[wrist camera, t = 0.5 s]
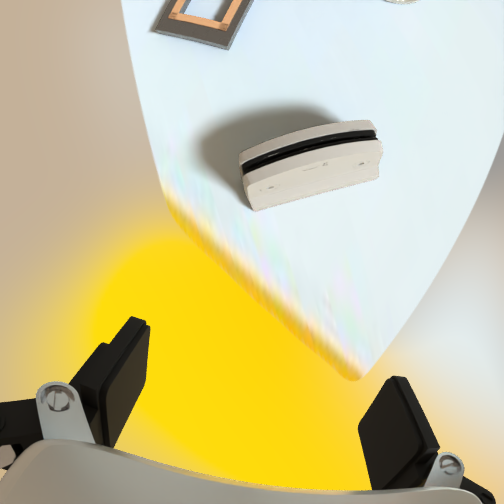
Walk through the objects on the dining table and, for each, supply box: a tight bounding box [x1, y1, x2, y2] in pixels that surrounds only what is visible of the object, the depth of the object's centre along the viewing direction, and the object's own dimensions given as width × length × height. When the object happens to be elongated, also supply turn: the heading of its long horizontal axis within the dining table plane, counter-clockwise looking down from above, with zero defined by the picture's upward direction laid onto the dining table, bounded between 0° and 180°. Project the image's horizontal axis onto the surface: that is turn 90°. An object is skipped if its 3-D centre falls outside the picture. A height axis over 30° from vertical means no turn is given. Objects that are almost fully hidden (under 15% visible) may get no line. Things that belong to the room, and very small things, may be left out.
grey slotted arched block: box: [239, 120, 383, 212], centre depth 33 cm, size 17×5×10 cm, turn 107°
